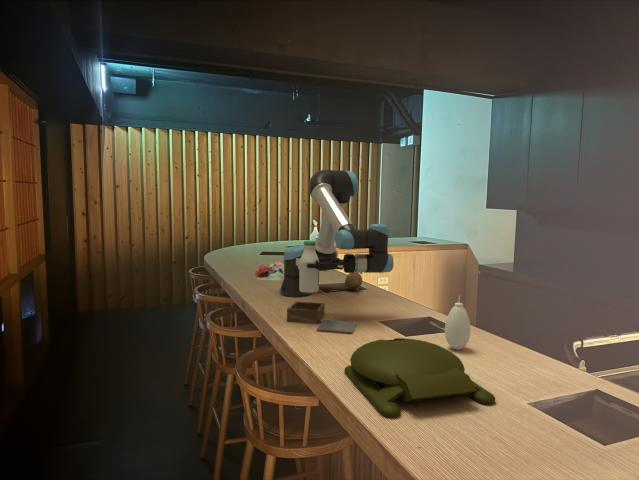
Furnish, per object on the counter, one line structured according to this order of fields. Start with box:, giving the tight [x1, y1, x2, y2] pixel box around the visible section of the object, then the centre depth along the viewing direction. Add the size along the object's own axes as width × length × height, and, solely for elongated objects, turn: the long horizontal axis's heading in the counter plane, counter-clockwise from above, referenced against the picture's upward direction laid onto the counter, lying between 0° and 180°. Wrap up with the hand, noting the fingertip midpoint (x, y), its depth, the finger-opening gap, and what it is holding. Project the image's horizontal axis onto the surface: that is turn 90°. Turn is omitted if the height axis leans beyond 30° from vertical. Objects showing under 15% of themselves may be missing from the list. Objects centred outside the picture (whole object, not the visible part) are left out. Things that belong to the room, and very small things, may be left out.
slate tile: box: [316, 319, 357, 335], centre depth 172 cm, size 13×13×1 cm
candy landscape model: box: [253, 260, 284, 282], centre depth 269 cm, size 25×24×9 cm
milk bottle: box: [299, 240, 320, 294], centre depth 180 cm, size 8×8×20 cm
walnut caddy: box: [286, 300, 326, 325], centre depth 183 cm, size 12×12×5 cm
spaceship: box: [344, 337, 496, 418], centre depth 124 cm, size 35×31×10 cm
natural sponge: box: [344, 271, 363, 292], centre depth 235 cm, size 9×9×10 cm
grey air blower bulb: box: [444, 295, 471, 351], centre depth 150 cm, size 8×8×18 cm
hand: (297, 263), depth 179 cm, fingers closed on milk bottle, 8 cm apart
